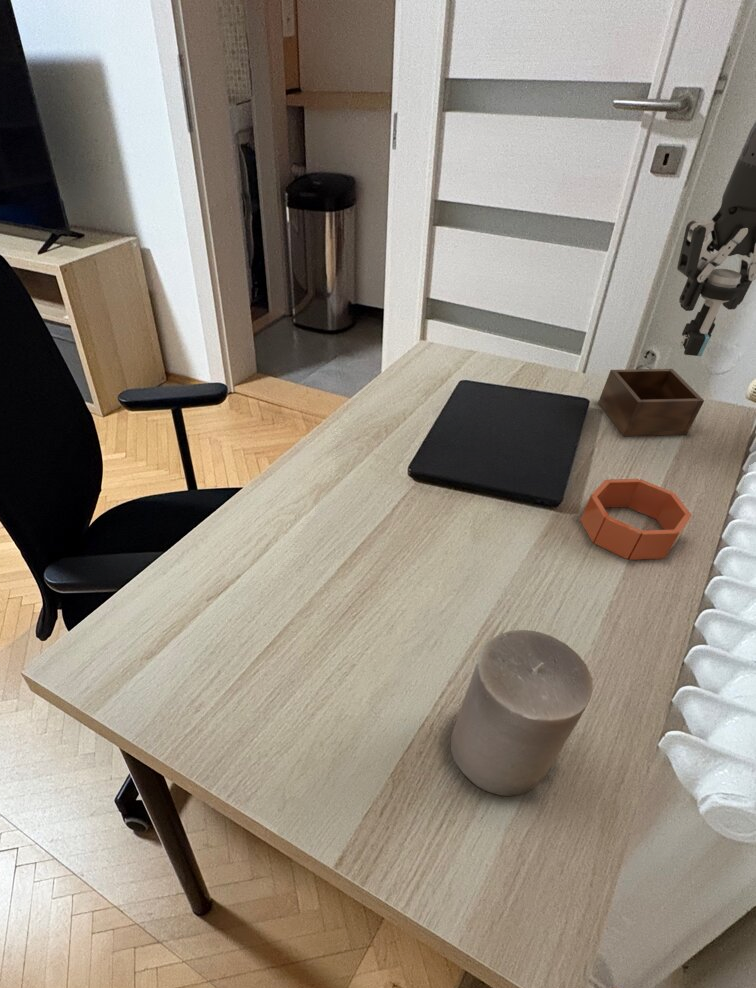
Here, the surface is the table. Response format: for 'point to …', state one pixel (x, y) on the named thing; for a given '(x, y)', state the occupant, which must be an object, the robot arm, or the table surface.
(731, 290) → the push button
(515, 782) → the pillar candle
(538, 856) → the table surface
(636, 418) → the box
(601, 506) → the bowl
